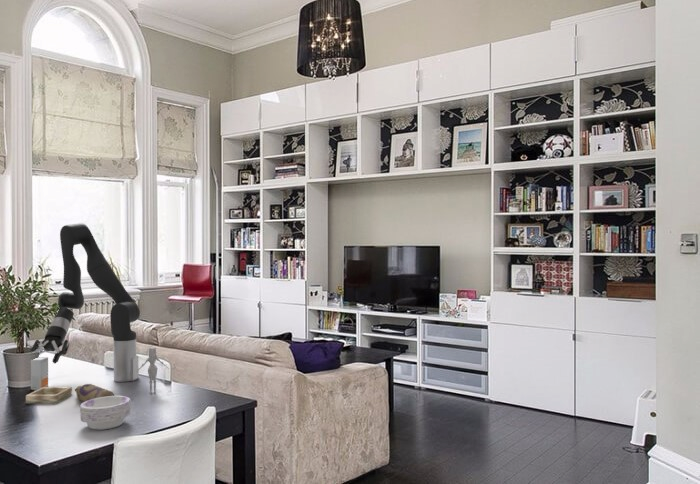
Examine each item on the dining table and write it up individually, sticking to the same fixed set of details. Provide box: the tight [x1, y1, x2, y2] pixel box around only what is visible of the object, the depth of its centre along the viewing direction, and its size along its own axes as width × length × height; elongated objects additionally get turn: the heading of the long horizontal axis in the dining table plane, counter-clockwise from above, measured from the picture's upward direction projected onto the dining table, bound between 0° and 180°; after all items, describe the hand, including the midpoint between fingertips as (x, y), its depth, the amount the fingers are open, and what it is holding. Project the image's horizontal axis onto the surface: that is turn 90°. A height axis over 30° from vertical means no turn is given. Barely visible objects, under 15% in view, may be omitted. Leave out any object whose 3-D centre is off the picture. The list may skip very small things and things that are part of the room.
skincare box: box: [30, 356, 49, 390], centre depth 240 cm, size 6×4×12 cm
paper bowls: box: [79, 395, 131, 431], centre depth 191 cm, size 15×15×8 cm
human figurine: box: [137, 347, 169, 395], centre depth 229 cm, size 12×4×18 cm, turn 117°
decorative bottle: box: [74, 383, 116, 403], centre depth 218 cm, size 26×8×7 cm, turn 46°
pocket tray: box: [25, 386, 73, 405], centre depth 223 cm, size 12×12×3 cm
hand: (43, 362), depth 244 cm, fingers open, 8 cm apart
